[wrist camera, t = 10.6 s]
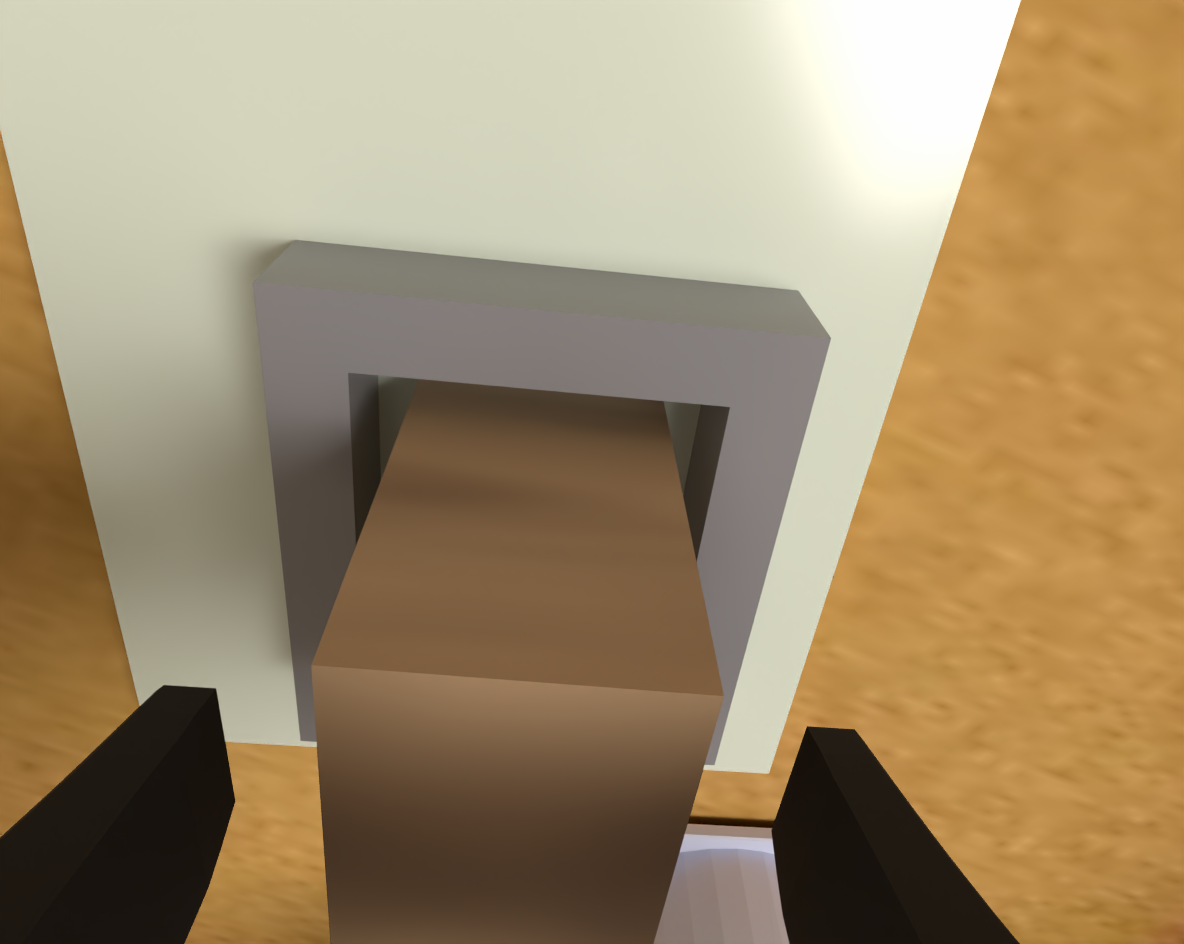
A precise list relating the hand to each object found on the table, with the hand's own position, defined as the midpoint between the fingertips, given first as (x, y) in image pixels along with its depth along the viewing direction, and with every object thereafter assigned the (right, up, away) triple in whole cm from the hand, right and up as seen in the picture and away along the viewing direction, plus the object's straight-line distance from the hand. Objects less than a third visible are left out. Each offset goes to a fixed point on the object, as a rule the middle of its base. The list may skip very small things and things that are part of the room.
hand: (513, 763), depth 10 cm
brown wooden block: (0, +3, +5) cm, 6 cm away
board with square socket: (-1, +5, +5) cm, 7 cm away
